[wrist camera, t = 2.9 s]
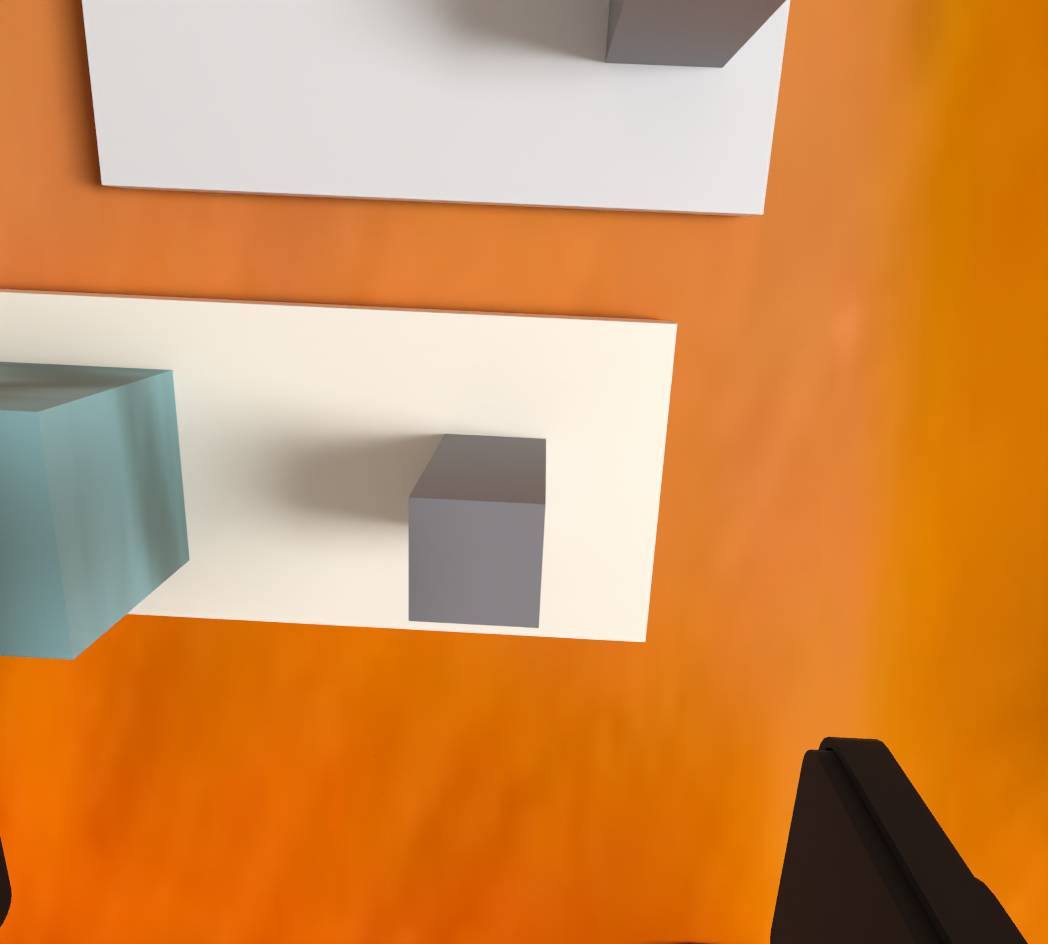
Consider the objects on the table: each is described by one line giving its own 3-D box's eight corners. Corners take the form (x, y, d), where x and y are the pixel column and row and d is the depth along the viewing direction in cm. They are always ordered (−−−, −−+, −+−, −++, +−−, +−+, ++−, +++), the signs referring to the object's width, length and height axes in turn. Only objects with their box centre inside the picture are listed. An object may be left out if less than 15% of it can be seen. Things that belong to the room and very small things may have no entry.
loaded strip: (670, 320, 22) (725, 350, 15) (640, 623, 25) (676, 766, 18) (-61, 285, 23) (-330, 300, 16) (-8, 588, 25) (-217, 714, 18)
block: (172, 369, 22) (37, 411, 16) (189, 559, 24) (73, 659, 18) (-31, 359, 22) (-236, 398, 16) (1, 549, 24) (-175, 645, 18)
